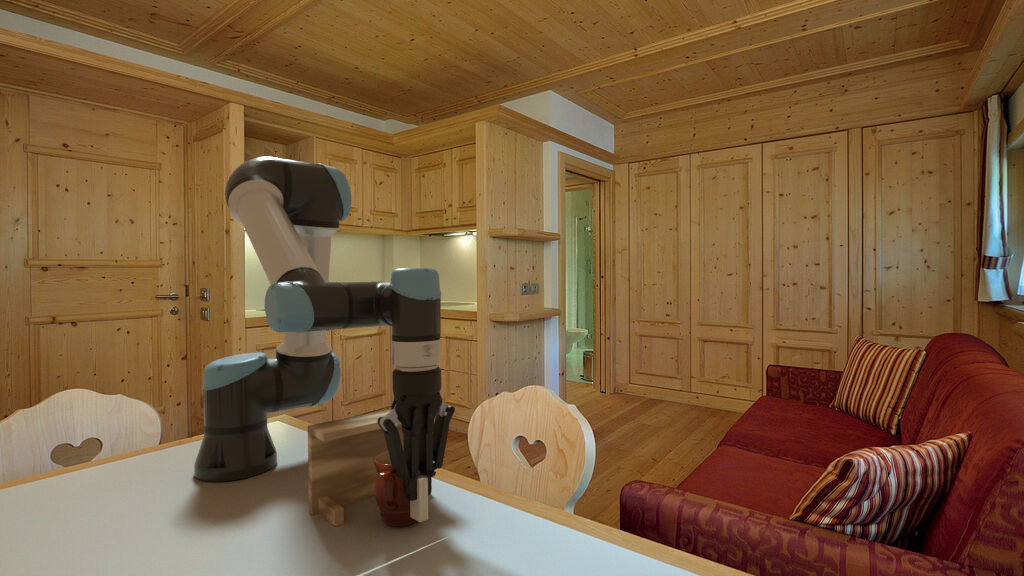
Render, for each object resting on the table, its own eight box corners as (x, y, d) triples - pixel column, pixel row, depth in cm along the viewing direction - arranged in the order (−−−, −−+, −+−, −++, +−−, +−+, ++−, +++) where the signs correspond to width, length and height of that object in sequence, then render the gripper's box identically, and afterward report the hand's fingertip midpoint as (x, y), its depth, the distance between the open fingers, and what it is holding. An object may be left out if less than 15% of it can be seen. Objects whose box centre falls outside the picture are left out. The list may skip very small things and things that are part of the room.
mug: (391, 505, 89) (388, 446, 89) (438, 508, 87) (435, 448, 87) (354, 539, 77) (351, 471, 77) (407, 543, 75) (404, 473, 75)
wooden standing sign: (308, 512, 87) (307, 425, 86) (410, 480, 100) (410, 405, 100) (328, 528, 81) (327, 436, 81) (434, 492, 94) (433, 412, 94)
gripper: (392, 375, 72) (394, 541, 73) (465, 364, 81) (467, 512, 82) (366, 369, 78) (369, 523, 78) (437, 360, 87) (439, 498, 87)
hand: (419, 517), depth 80 cm, fingers closed
